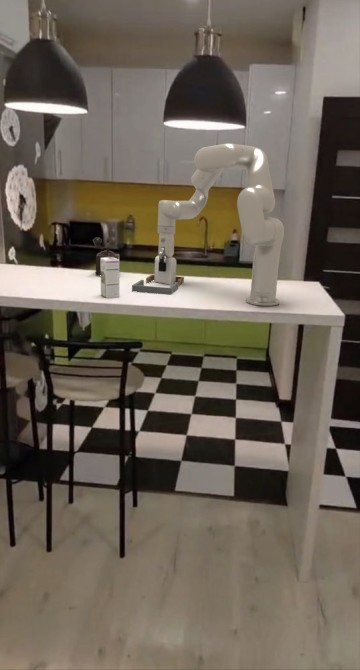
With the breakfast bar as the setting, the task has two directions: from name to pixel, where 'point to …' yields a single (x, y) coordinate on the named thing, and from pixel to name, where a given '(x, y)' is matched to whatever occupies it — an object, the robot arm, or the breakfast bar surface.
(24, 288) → the breakfast bar surface
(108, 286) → the syrup box
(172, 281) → the photo printer
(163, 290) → the bay
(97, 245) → the twin bell alarm clock
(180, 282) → the dock
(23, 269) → the breakfast bar surface
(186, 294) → the breakfast bar surface
